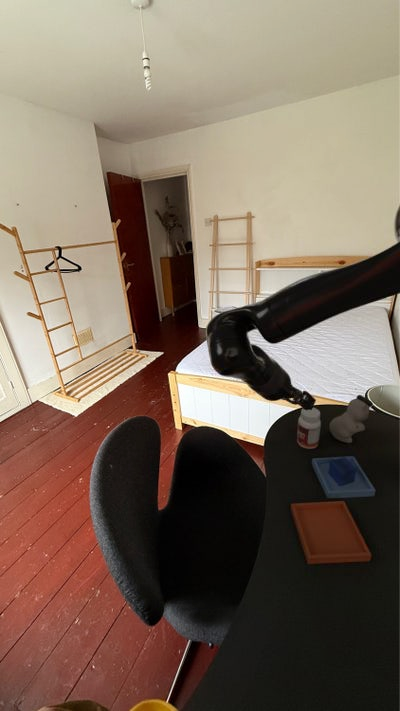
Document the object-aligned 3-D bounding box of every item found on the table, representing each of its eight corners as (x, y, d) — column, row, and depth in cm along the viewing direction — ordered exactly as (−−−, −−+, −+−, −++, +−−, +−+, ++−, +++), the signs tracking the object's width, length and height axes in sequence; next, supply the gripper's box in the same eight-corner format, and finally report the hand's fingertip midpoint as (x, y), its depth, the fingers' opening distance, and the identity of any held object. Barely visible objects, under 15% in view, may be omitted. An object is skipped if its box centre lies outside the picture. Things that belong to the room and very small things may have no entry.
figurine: (364, 452, 84) (373, 408, 78) (326, 441, 89) (332, 400, 83) (366, 433, 91) (374, 392, 85) (330, 424, 96) (336, 385, 90)
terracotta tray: (342, 506, 70) (343, 500, 69) (369, 561, 59) (371, 554, 58) (290, 509, 70) (291, 503, 69) (307, 564, 59) (308, 558, 58)
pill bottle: (292, 438, 92) (295, 408, 87) (310, 433, 93) (313, 403, 88) (303, 451, 86) (306, 420, 81) (322, 447, 87) (326, 415, 83)
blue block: (342, 469, 79) (344, 456, 77) (354, 481, 75) (357, 469, 73) (328, 473, 78) (330, 460, 76) (339, 486, 74) (341, 473, 72)
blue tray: (352, 461, 82) (353, 456, 81) (374, 496, 72) (375, 490, 71) (311, 463, 82) (312, 458, 81) (327, 498, 72) (328, 493, 71)
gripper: (306, 371, 57) (326, 396, 69) (246, 353, 67) (272, 377, 78) (290, 406, 56) (313, 425, 68) (232, 383, 65) (261, 403, 77)
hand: (291, 399), depth 73 cm, fingers open, 8 cm apart
